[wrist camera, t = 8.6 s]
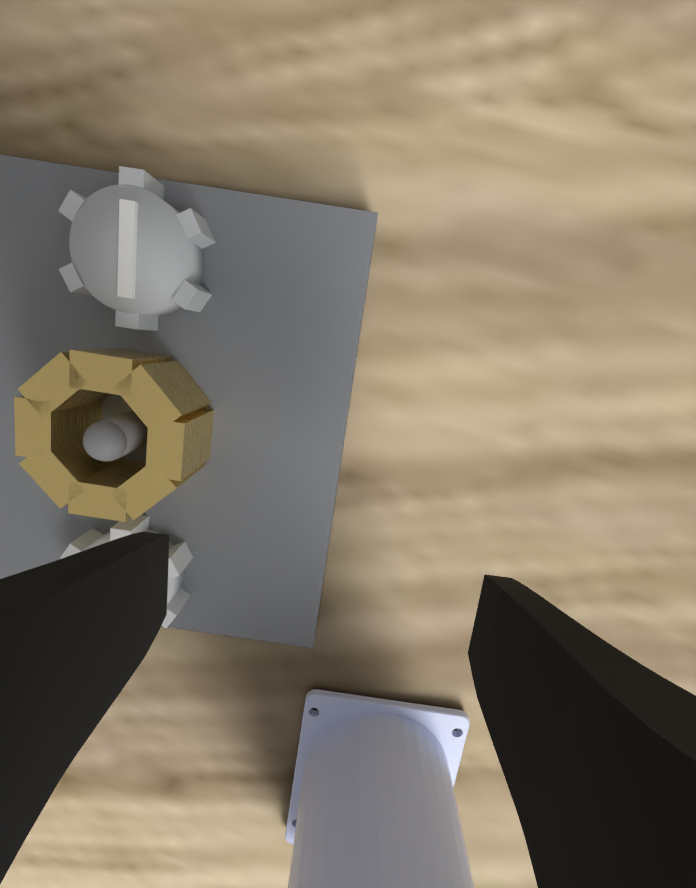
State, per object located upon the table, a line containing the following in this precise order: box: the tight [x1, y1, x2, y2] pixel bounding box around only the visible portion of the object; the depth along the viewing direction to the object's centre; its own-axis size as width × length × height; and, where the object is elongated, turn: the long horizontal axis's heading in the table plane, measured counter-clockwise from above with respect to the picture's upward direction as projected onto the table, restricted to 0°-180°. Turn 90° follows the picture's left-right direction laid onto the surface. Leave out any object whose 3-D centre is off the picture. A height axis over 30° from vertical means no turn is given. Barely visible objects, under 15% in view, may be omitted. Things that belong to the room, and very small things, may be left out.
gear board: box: [0, 154, 378, 648], centre depth 16 cm, size 18×16×4 cm
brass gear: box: [14, 348, 214, 522], centre depth 16 cm, size 6×6×3 cm
